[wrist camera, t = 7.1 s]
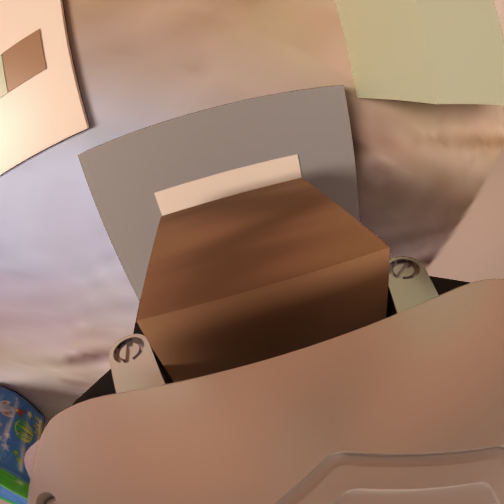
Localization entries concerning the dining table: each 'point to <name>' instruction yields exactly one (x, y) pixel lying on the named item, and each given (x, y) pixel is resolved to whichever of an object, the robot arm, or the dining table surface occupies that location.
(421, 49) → the sage block
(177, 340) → the walnut block
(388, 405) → the robot arm
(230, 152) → the plate
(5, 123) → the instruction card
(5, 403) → the snack cup
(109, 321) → the dining table surface
